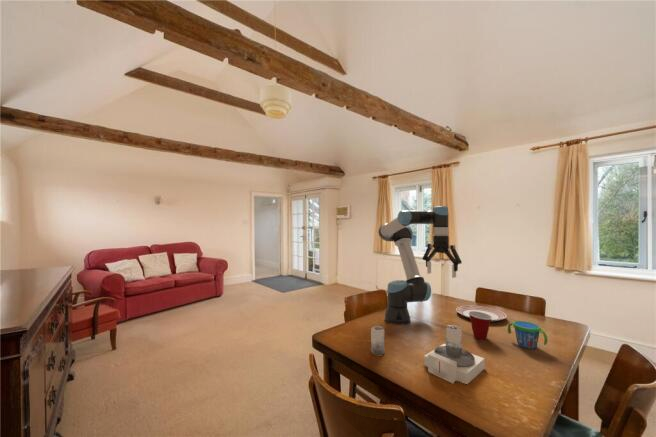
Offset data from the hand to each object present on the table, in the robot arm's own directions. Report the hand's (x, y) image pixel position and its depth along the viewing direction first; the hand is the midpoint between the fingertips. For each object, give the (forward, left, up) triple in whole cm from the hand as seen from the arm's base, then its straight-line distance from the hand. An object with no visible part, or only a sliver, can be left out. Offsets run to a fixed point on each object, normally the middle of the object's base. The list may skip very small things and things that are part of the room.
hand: (441, 275), depth 138 cm
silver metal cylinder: (+18, -25, -27) cm, 41 cm away
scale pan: (+18, -25, -28) cm, 41 cm away
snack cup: (+32, +20, -32) cm, 49 cm away
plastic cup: (+14, +13, -32) cm, 37 cm away
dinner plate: (+2, +45, -32) cm, 55 cm away
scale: (+18, -27, -32) cm, 45 cm away
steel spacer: (-10, -40, -32) cm, 52 cm away
